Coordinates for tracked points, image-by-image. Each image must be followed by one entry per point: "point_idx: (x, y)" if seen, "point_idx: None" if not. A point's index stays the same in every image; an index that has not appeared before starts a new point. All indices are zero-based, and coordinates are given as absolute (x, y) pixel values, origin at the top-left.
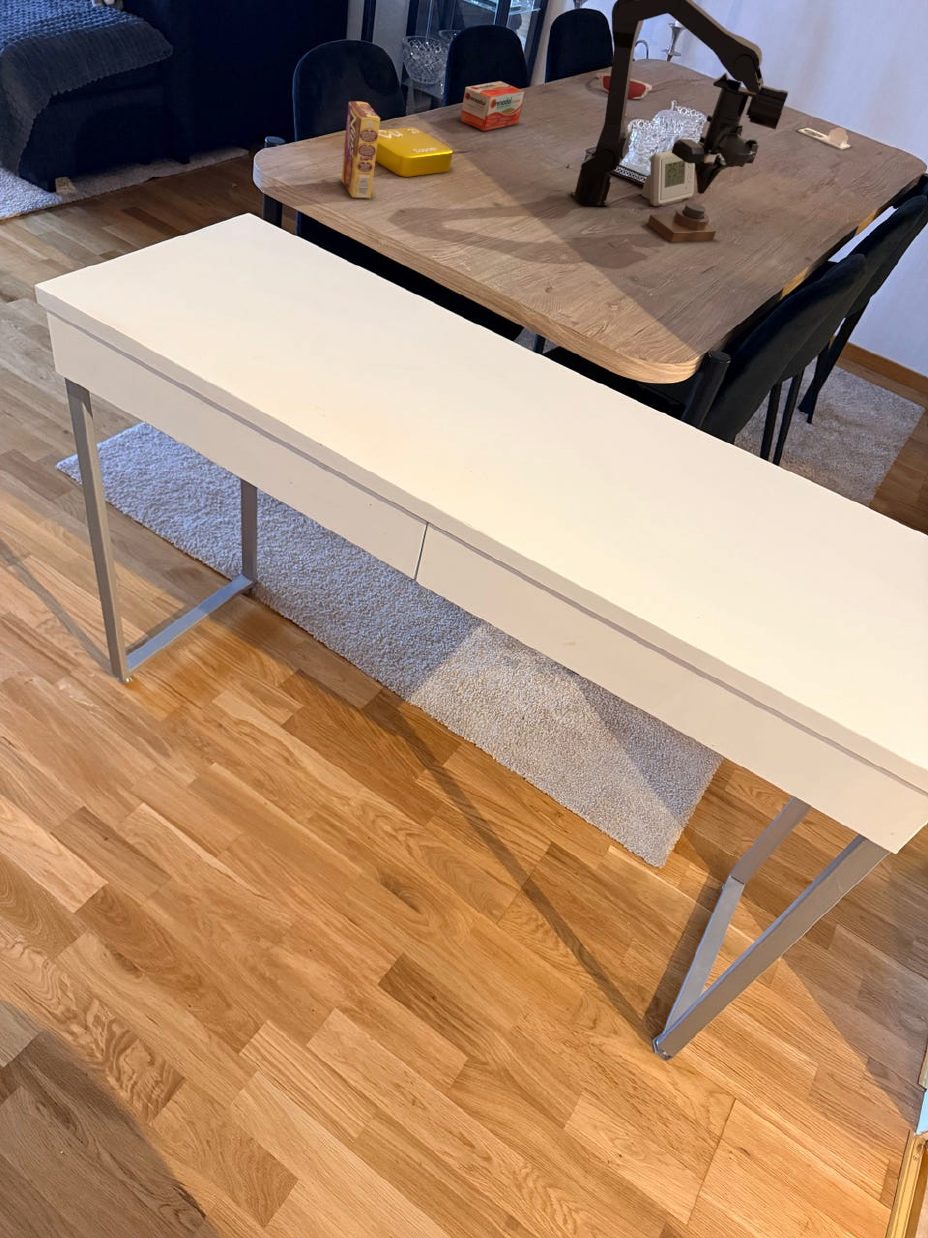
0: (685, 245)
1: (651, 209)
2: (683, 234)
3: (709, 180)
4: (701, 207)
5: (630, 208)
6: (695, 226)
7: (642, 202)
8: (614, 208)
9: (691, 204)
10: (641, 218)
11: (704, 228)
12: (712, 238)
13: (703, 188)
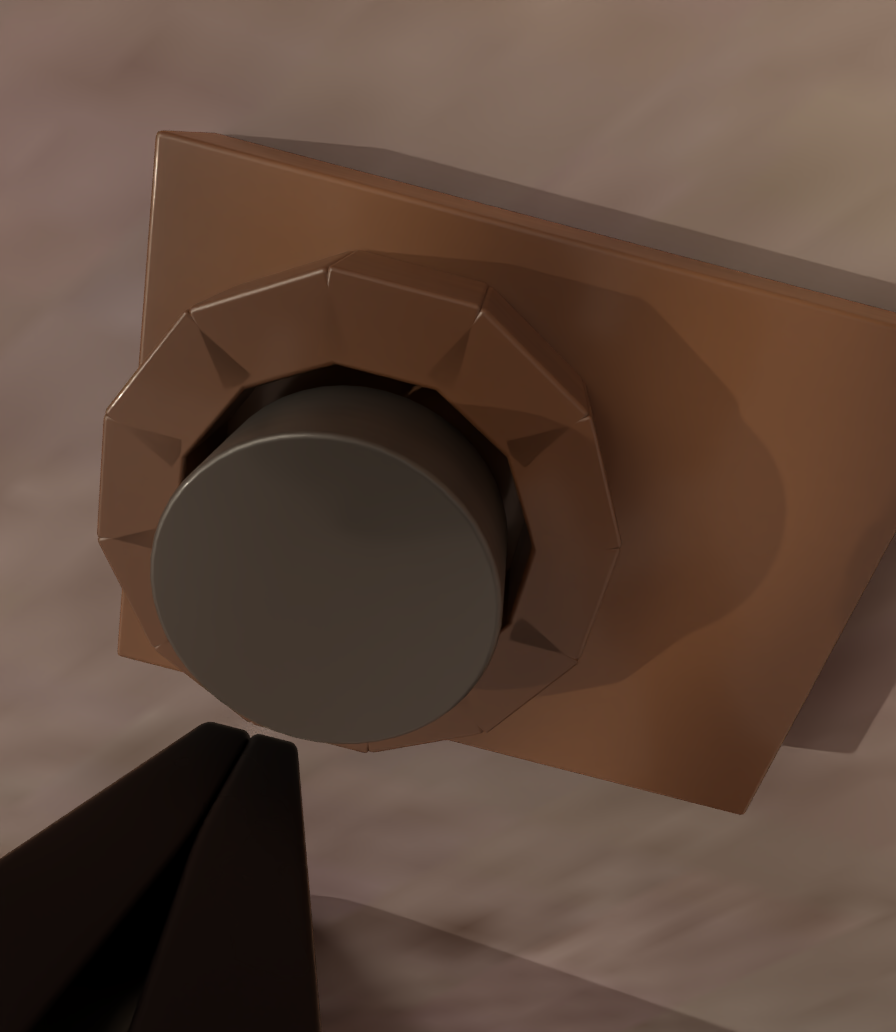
0: (793, 170)
1: (347, 899)
2: (788, 291)
3: (33, 1009)
4: (230, 538)
5: (552, 974)
6: (513, 316)
7: (318, 994)
8: (717, 1021)
9: (338, 678)
10: (643, 833)
11: (327, 255)
12: (219, 135)
13: (249, 817)
